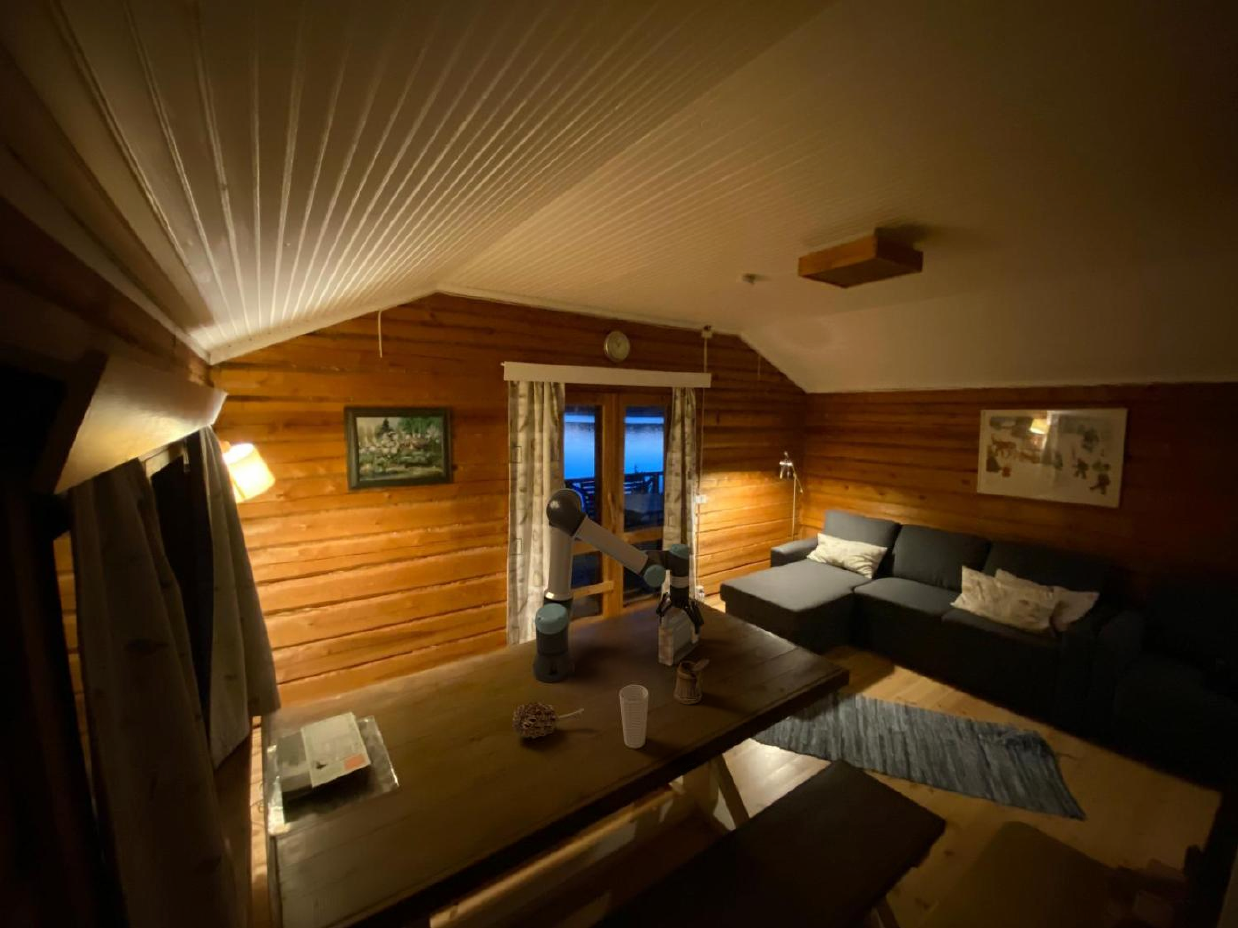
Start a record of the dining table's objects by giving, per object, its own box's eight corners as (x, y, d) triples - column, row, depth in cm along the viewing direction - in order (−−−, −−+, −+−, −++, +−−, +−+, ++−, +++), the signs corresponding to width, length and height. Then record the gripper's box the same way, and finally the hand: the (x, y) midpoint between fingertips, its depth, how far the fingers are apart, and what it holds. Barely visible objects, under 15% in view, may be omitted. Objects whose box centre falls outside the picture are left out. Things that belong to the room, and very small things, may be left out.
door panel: (667, 655, 195) (667, 621, 193) (682, 643, 205) (683, 610, 202) (674, 658, 193) (674, 623, 191) (690, 645, 203) (690, 612, 201)
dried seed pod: (515, 751, 146) (513, 719, 144) (510, 730, 155) (509, 700, 153) (589, 733, 153) (588, 702, 151) (581, 714, 162) (580, 685, 160)
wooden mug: (694, 715, 160) (694, 662, 157) (668, 693, 172) (668, 643, 169) (715, 706, 165) (716, 654, 162) (689, 685, 176) (690, 637, 173)
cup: (614, 741, 149) (613, 692, 147) (634, 727, 155) (633, 680, 153) (635, 756, 143) (634, 705, 141) (655, 741, 149) (655, 692, 147)
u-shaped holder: (656, 660, 192) (655, 626, 190) (684, 637, 210) (684, 605, 208) (673, 667, 188) (673, 631, 186) (701, 642, 205) (701, 609, 203)
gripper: (646, 580, 199) (647, 631, 202) (704, 595, 184) (703, 649, 188) (656, 574, 205) (657, 624, 208) (713, 588, 190) (713, 641, 194)
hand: (679, 636), depth 198 cm, fingers open, 13 cm apart
